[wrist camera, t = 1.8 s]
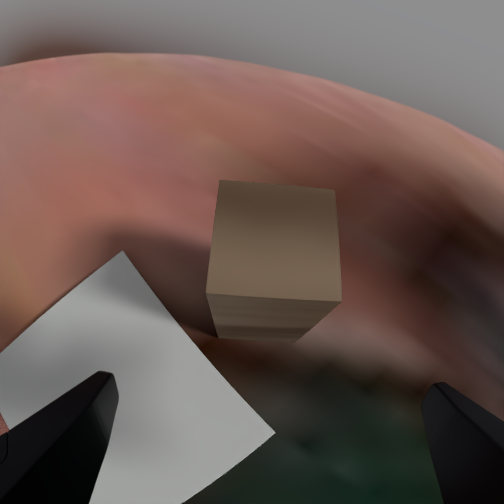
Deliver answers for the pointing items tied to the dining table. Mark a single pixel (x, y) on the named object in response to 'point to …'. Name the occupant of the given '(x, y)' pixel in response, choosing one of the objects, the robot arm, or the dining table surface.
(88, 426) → the robot arm
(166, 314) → the grey mat
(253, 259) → the walnut block
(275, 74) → the dining table surface
